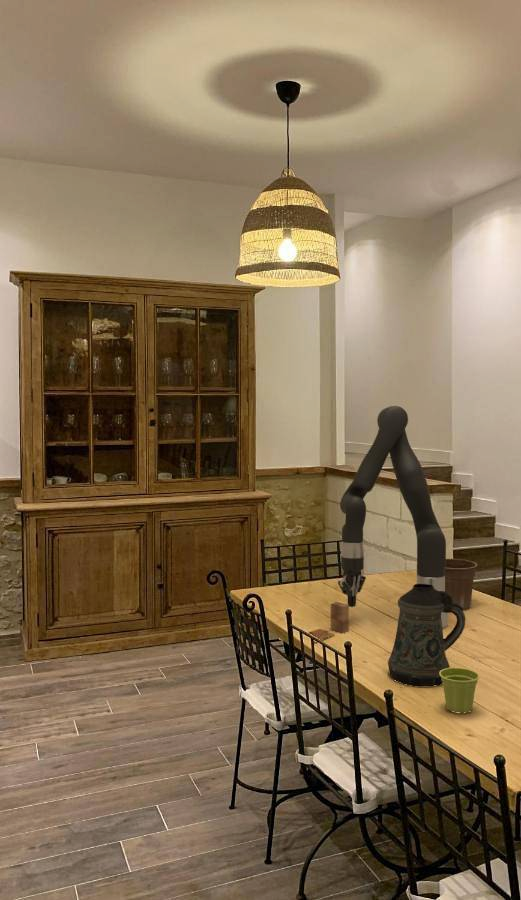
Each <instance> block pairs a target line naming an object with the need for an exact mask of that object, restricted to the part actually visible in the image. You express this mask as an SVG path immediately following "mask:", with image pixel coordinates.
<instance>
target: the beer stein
mask: <svg viewBox="0 0 521 900" xmlns="http://www.w3.org/2000/svg"><path fill="white" fill-rule="evenodd" d="M397 607H398V610H399V613H398V614H399V615H398V620H397V627H396V631H395V632H396V633H395V638H394V641H393V642H394V643H393V647H392V650H391V653H390V656H389V658H388V660H387V666H388V671H389V673H388V675H389V674H390V675H389V676H391V677H390V678H391V679H393V680H392V681H394V680H396V681H398V682H397V683H399V682H401V683H403V684H402V685H404V684H407V685H406V686H409V685H412V686H411V687H415V686H419V687H418V688H421V687H420V686H434V685H439V686H441V685H440V684H442V683H443V682H442V680H441V677H440V675H439V672H440V671H441V670H443V669H446V668H451V666H450V663H449V661H448V658H447V656H446V655H447V654H446V651H447V650H449V649H450V648H451V647H452V646H453V645H454V644H455V643H456V642H457V641H458V639H459V638H460V637H461V636H462V633H463V632H464V630H465V626H466V619H467V618H466V614H465V612H464V611H465V610H464V609H463V608H462V607H461V606H460V605H458V604H457V603H456V602H452V598H451V596H449V594H448V593H447V592H445V591H437V590H436V589H434V587H433V586H432V585H428V584H417V583H416V584H413V586H412V588H411V589H410V590H408V591H407V592H405V593H404V594H403V595H401V596H400V597H399V599H398V600H397ZM442 612H444V613H447V614H453V615H454V616H455V617H456V623H455V625H454V627H453V628H452V630H451V631H450V633H448V634H447V636H446V637H445V638H444V631H443V630H444V628H442V621H441V613H442ZM396 681H395V682H396ZM401 683H400V684H401ZM442 685H443V684H442ZM434 687H435V686H434Z"/></svg>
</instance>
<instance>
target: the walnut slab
mask: <svg viewBox="0 0 521 900" xmlns="http://www.w3.org/2000/svg"><path fill="white" fill-rule="evenodd" d="M349 608H350V607H349V605H348V603H342V602H339V601H335V602H331V603H330V631H331V630H332V631H331V632H333V631H335V632H334V633H338V632H339V634H342V635H344V634H347V633H349V628H350V626H349V624H350V621H349V619H350V615H349V614H350V613H349V611H350V609H349ZM346 632H347V633H346ZM343 633H344V634H343Z"/></svg>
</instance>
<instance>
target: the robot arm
mask: <svg viewBox="0 0 521 900" xmlns="http://www.w3.org/2000/svg"><path fill="white" fill-rule="evenodd" d="M376 421H377V427H378V431H377V434H376V436H375V438H374V441H373V443H372V445H371V446H370V448H369V450H368V451H367V453H366V454H365V456H364V457H363V459H362V461H361V463H360V464H359V466H358V469H357V471H356V473H355V475H354V477H353V480H352V482H351V483H350V484H349V486H348V487H347V488H346V490H345V492H344V493H343V494H342V497H341V499H340V504H339V507H340V510H341V512H342V513H343V514H344V515H345V519H344V520H345V521H344V524H343V525H342V527H341V528H342V529H341V547H340V568H341V569H342V571H343V573H342V579H341V580H338V582H337V584H338V586H339V588H340V590H341V592H342V593H343V595H346V596H347V604H348V605H349V608H354V607H356V606H357V595H358V593H359V594H360V593H361V590H362V588H363V586H364V584H365V581H366V578H367V577H366V576H364V575H363V573H362V571H363V570H364V565H365V564H364V561H365V559H364V554H365V552H364V551H365V550H364V549H365V547H364V526H365V522H366V515H367V505H366V502H365V500H364V499H365V497H366V496H367V494H368V493H370V492H372V491H373V488H374V487H375V485H376V482H377V480H378V479H379V476H380V474H381V471H382V469H383V467H384V466H385V465H384V464H385V462H386V461H387V458H388V456H390V461H391V465H392V469H393V472H394V475H395V479H396V481H397V485H398V488H399V492H400V493H401V496H402V499H403V501H404V503H405V505H406V507H407V509H408V511H409V512H410V515H411V517H412V522H413V527H414V530H415V535H416V584H428V585H432V586H433V587H434V589H436V590H437V591H445V568H446V559H447V540H446V537H445V534H444V532H443V530H442V528H441V526H440V524H439V521H438V520H437V517H436V514H435V512H434V510H433V505H432V498H431V494H430V489H429V485H428V482H427V479H426V475H425V472H424V469H423V467H422V464H421V463H420V461H419V458H418V457H417V455H416V454H415V453H414V451H413V449H412V447H411V445H410V442H409V439H408V436H407V431H406V427H407V426H408V423H409V416H408V413H407V411H406V410H405V409H404V408H403V407H401V406H399V405H391V406H388V407H386V408H383V409H381V411H380V412H379V413H378V415H377V418H376ZM441 621H442V629H444V628H446V627H448V613H444V612H442V613H441Z"/></svg>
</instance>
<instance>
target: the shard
mask: <svg viewBox="0 0 521 900" xmlns="http://www.w3.org/2000/svg"><path fill="white" fill-rule="evenodd" d="M309 633H310V634H312V635H313V636H315V637H317V638H318V639H320V640H322V639H324V640H326V639H325V638H327V639H329V638H328V637H330V638H332V637H331V636H333V637H335V632H333V631H331V630H328V629H322V628H316V629H314V630H312V631H308V634H309ZM314 644H317V643H316V642H315V643H314Z"/></svg>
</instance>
